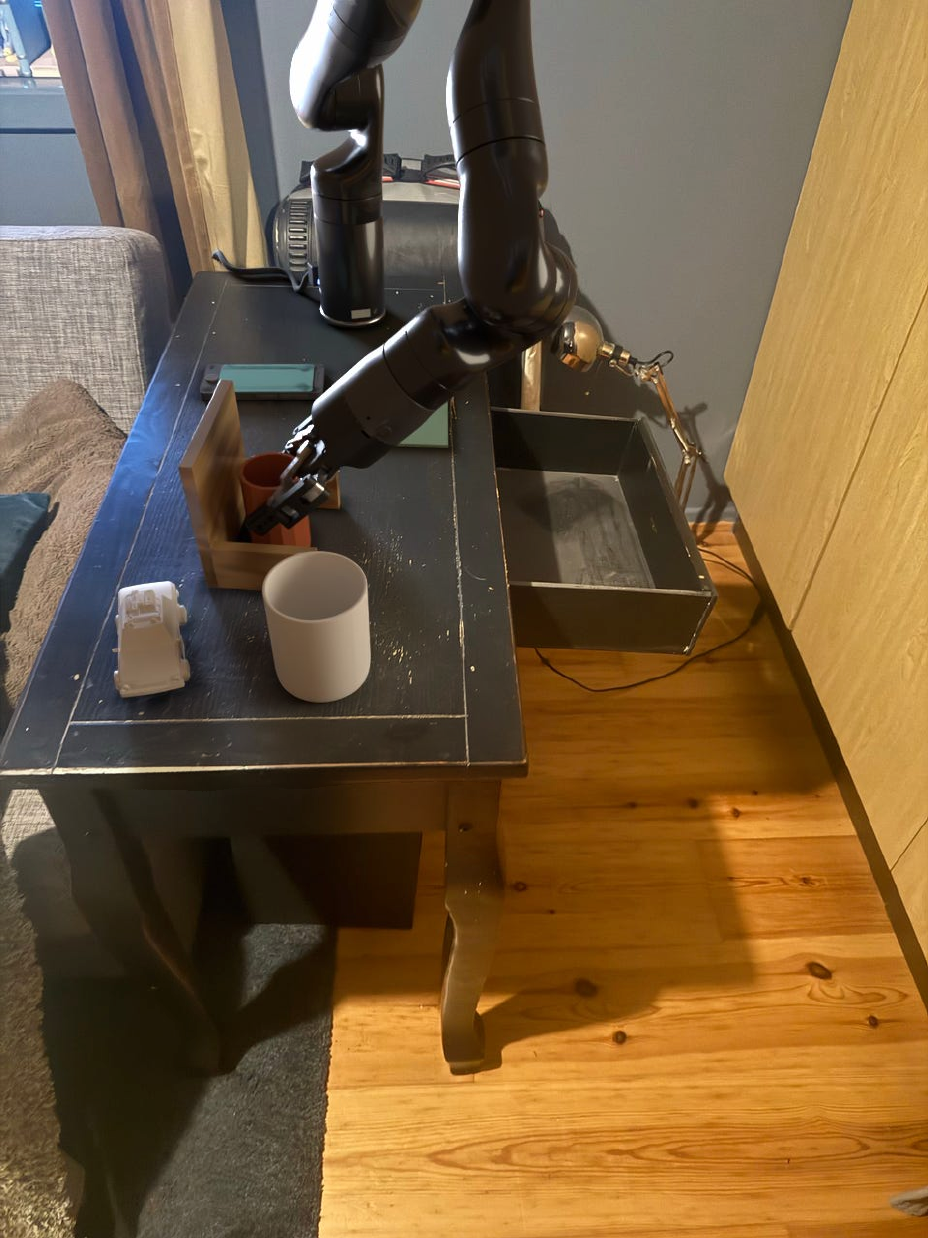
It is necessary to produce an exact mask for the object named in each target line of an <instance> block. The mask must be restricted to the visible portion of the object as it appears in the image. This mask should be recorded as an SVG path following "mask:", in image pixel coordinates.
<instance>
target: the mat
mask: <svg viewBox="0 0 928 1238" xmlns="http://www.w3.org/2000/svg"><path fill="white" fill-rule="evenodd" d="M448 402H449V401H448ZM448 402H446V403H445V404H444V405H442V406H441V407H440V408H439V409H438V410H437V411H435V412H434V413H433V414H432V415H431V416H430V418H429V419H428V420H427V421H426V422H425V423H424V424H423V425H422V426H421V427H419V428H418V429H417V430H416V431H415V432H413V433H412V434H411V435H410V436H408V437H407V438H406V439H404V440H403V441H402V442H401V443H399V444H398V445H397V446H396V447H401V448H402V447H405V448H432V449H433V448H435V449H436V448H437V449H438V448H439V449H448V448H449V420H448V419H449V411H448V408H449V406H448V404H449V403H448Z"/></svg>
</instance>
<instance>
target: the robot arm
mask: <svg viewBox="0 0 928 1238" xmlns="http://www.w3.org/2000/svg"><path fill="white" fill-rule="evenodd" d="M423 1H424V0H316V2H315V6H314V9H313V11H312V12H313V13H312V14H311V15H312V16H311V17H310V20H309V21H308V23H307V25H306V27H305V29H304V31H303V33H302V35H301V36H300V38H299V40H298V43H297V45H296V47H295V50H294V52H293V55H292V59H291V65H290V72H289V93H290V100H291V104H292V107H293V110H294V112H295V115H296V116H297V118H298V120H299V122H300V123H301V124H302V126H304V127H305V128H306V129H308V130H310V131H313V132H316V133H341V132H350V134H349V135H348V137H347V138H346V139H345V140H344V141H343V142H342V143H341V144H340V145H339V146H338V147H336V148H334V149H333V150H331V151H329V152H327V153H325V154H324V155H322V156H320V157H318V158H316V159H315V160H314V161H313V163H312V164H311V168H310V183H311V194H312V195H311V196H312V206H313V208H312V209H313V220H314V233H315V247H316V261H310V262H307V272H305V274H304V275H303V277H302V279H301V281H300V284H299V282H298V279H297V276H296V275H295V274H294V272H293V271H291V270H290V269H287V268H285V267H281V266H280V267H279V266H263V267H240V266H239V267H238V266H235V265H233V264H231V263H230V262H229V260H228V258H227V257H226V255H225V253H224V252H223V251H222V250H221V249H215V250H214V251H213V253H211V256H210V257H211V258H212V259H219V261H220V263H221V264H222V266H223V267H224V268H225V269H226V270H227V271H229V272H231V273H233V274H236V275H241V276H255V275H257V276H258V275H282V276H286V277H287V278H288V279H289V280H290V282H291V285H292V288H293V290H294V292H296V293H298V294H301V293H303V292H305V291H306V289H307V288H308V285H309V284H310V285H311V286H312V287H314V288H315V287H319V299H320V300H319V301H320V307H319V310H320V317H321V319H322V320H323V321H324V322H325V323H326V324H329V325H330V326H334V327H337V328H340V329H341V328H342V329H348V330H349V329H350V330H351V329H354V330H356V329H365V328H371V327H373V326H376V325H378V324H379V323H381V322H383V321H384V320H385V318H386V312H387V310H386V305H385V303H386V302H385V297H386V296H385V294H386V293H385V289H386V288H385V287H386V286H385V285H386V284H385V241H384V240H385V239H384V235H385V234H384V233H385V232H384V195H383V194H384V192H383V190H384V189H383V173H384V172H383V171H384V132H385V131H384V130H385V128H384V127H385V107H386V105H385V101H386V100H385V99H386V98H385V97H386V96H385V95H386V93H385V91H386V90H385V88H386V85H385V84H386V83H385V72H384V66H383V62H385V61H386V60H388V59H389V58H390V57H392V56H393V55H394V54H395V53H396V52H397V51H398V49H399V48H400V47H401V46H402V44H403V43H404V42H405V40H406V38H407V36H408V34H409V33H410V31H411V29H412V27H413V25H414V23H415V22H416V19H417V17H418V15H419V13H420V10H421V7H422V4H423ZM531 11H532V9H531V0H472V2H471V4H470V8H469V10H468V12H467V16H466V17H465V20H464V23H463V26H462V28H461V31H460V32H459V36H458V39H457V42H456V44H455V48H454V50H453V53H452V55H451V60H450V63H449V67H448V68H449V69H448V72H447V78H446V87H445V88H446V89H445V90H446V91H445V105H446V117H447V124H448V130H449V135H450V141H451V142H450V143H451V145H452V146H451V147H452V148H451V149H452V153H453V159H454V164H455V165H454V166H455V169H456V175H457V180H458V184H459V191H460V192H459V202H458V212H457V213H458V214H457V215H458V217H457V267H458V268H457V269H458V275H459V280H460V284H461V288H462V291H463V294H464V296H463V297H462V298H460V299H458V300H455V301H454V302H450V303H444V304H435V305H430V306H429V307H427V308H425V309H423V310H422V311H420V312H419V313H417V314H416V315H415V316H414V317H412V318H411V319H410V320H408V322H406V324H404V325H403V326H402V327H401V328H400V329H399V330H398V331H397V332H395V333H394V334H393V335H392V336H391V337H390V338H389V339H387V340H386V341H385V342H384V343H383V344H382V345H380V346H378V347H377V348H375V349H374V350H372V351H370V352H369V353H368V354H367V355H365V356H364V357H363V358H362V359H361V360H359V361H358V362H357V363H356V364H355V365H353V366H352V368H351V369H349V370H348V371H347V372H346V373H345V374H344V375H343V376H341V377H340V378H339V379H338V380H336V382H334V383H333V384H332V385H331V387H329V388H328V389H327V390H325V392H323V394H322V395H321V396H320V397H319V398H318V399H317V400H315V401H314V402H313V404H312V406H311V411H310V412H311V415H310V416H308V417H307V418H306V419H305V420H304V421H302V423H300V424H299V425H298V426H297V427H295V428H294V429H293V432H292V436H293V438H291V439H290V440H288V441H287V443H286V445H285V446H284V449H283V450H282V451H281V452H282V453H286V454H290V455H292V456H294V457H296V458H295V459H294V460H293V461H292V462H291V464H290V465H289V466H288V467H287V469H286V470H285V471H284V472H283V474H282V475H281V476H280V483H281V484H280V486H279V487H278V488H277V490H276V491H275V492H274V493H273V494H272V496H270V497H269V498H268V500H266V501H265V502H264V503H263V504H262V505H260V506H259V507H258V508H257V509H256V510H254V511H253V512H252V513H251V514H250V515H248V516H247V518H246V517H245V519H244V526H245V527H246V528H247V529H248V528H249V529H250V530H252V531H253V532H254V533H256V534H257V535H259V536H263V535H265V534H266V533H267V532H269V531H270V530H271V529H272V528H274V527H275V526H276V525H277V524H279V523H280V524H282V525H283V526H284V527H285V528H286V529H288V530H289V529H291V528H292V527H293V526H295V525H296V524H297V523H298V522H300V521H301V520H302V519H303V518H305V517H306V516H307V515H308V514H309V515H310V514H311V513H313V512H314V510H316V509H318V508H317V507H319V506H320V505H321V504H322V503H324V502H325V501H326V500H328V499H329V497H330V495H331V491H329V490H328V489H327V488H326V487H325V485H326V484H327V483H328V482H331V481H333V480H334V478H335V477H336V476H337V475H339V473H340V472H341V470H342V468H343V467H347V468H354V469H358V470H364V469H365V470H366V469H369V468H370V467H372V466H373V465H374V464H375V463H377V462H378V461H379V460H380V459H382V458H383V457H384V456H386V455H387V454H388V453H390V452H391V451H392V450H393V449H395V448H396V447H398V446H397V445H398V444H399V443H401V442H402V441H403V440H404V439H406V438H407V437H408V436H410V435H411V434H412V433H413V432H415V431H416V430H417V429H418V428H419V427H421V426H422V425H423V424H424V423H425V422H426V421H427V420H428V419H429V418H430V416H431V415H432V414H433V413H434V412H435V411H437V410H438V409H439V408H440V407H441V406H442V405H444V404H445V403H446V402H449V401H450V400H451V399H453V398H454V397H455V396H457V395H458V394H459V393H461V391H463V390H464V389H466V387H468V386H469V385H470V384H471V383H472V382H473V381H474V380H475V379H477V378H478V377H480V376H482V375H483V374H485V373H487V372H489V371H491V370H493V369H495V368H497V367H498V366H501V365H503V364H504V363H506V362H507V361H509V360H511V359H514V358H515V357H517V356H518V355H520V354H523V353H525V352H526V351H527V350H529V349H531V348H532V347H533V346H536V345H537V344H539V343H540V342H541V341H543V340H544V339H546V338H547V337H548V336H550V335H551V334H553V333H554V332H555V331H556V330H557V329H558V328H559V327H560V326H561V325H562V324H563V323H564V321H565V320H566V319H567V317H568V316H569V315H570V313H571V311H572V310H573V308H574V306H575V303H576V300H577V297H578V291H579V278H578V271H577V269H576V267H575V265H574V264H573V262H572V260H571V259H570V258H569V256H568V255H567V254H566V253H565V252H564V251H562V249H560V248H559V247H556V246H555V245H553V244H551V243H549V242H548V241H546V240H544V238H543V234H542V230H541V223H540V210H539V200H540V199H541V198H542V197H543V195H544V194H545V192H546V191H547V188H548V185H549V181H550V180H549V179H550V169H549V159H548V158H549V157H548V152H547V151H548V150H547V143H546V137H545V133H544V125H543V119H542V113H541V106H540V100H539V93H538V89H537V81H536V74H535V73H536V72H535V64H534V54H533V41H532V14H531V13H532V12H531ZM341 467H342V468H341ZM294 473H295V475H296V476H297V477H298V478H299V479H300V480H299V481H298V483H297V484H295V483H294V482H293V481H292V476H293V475H294ZM287 490H289V491H288V492H286V491H287ZM285 492H286V493H285ZM284 493H285V494H284Z"/></svg>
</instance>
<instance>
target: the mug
mask: <svg viewBox="0 0 928 1238" xmlns="http://www.w3.org/2000/svg"><path fill="white" fill-rule="evenodd" d="M261 596H262V601H263V605H264V611H265V618H266V623H267V629H268V634H269V640H270V645H271V653H272V657H273V664H274V669H275V673H276V676H277V678H278V681H279V682H280V684H281V686H282V687H283V688H284V689H285V690H286V691H287V692H288V693H289V694H291V695H292V696H293V697H295V698H297V699H300V700H302V701H305V702H309V703H322V704H323V703H331V702H336V701H339V700H342V699H345V698H347V697H348V696H350V695H352V694H353V693H355V692H357V690H358V689H359V688H361V686H362V685H363V684H364V682H366V679H367V678H368V676H369V672H370V668H371V659H372V657H371V656H372V655H371V654H372V653H371V634H370V633H371V632H370V615H369V613H370V612H369V591H368V580H367V577H366V574H365V572H364V571H363V569H362V568H361V566H359V565H358V564H357V563H356V562H355V561H354V560H353V559H351V558H349V557H348V556H345V555H342V554H339V553H335V552H331V551H324V550H323V551H322V550H321V551H319V550H317V551H313V552H305V553H296V554H294V555H293V556H291V557H288V558H286V559H284V560H282V561H281V562H279V563H278V564H276V565H275V566H274V567H273V568H272V569H271V570H270V571H269V572H268V574H267V575H266V577H265V579H264V582H263V586H262V591H261Z"/></svg>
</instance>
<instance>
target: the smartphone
mask: <svg viewBox="0 0 928 1238" xmlns="http://www.w3.org/2000/svg"><path fill="white" fill-rule="evenodd" d="M204 369H205V370H204V372H203V376H202V380H201V383H200V388H199V395H200V398H201V400H203V401H210V400H211V398H212V396H213V394H214V392H215V390H216V388H217V386H218V384H219V382H220V380H232V381H233V386H234V392H235V398H236V401H280V400H281V401H283V400H284V401H293V400H294V401H298V400H303V401H306V400H307V401H308V400H309V401H311V400H313V401H314V400H315V401H316V400H317V399H318V398H319V397H320V396H321V395H322V394H324V384H325V366H324V365H323V364H321V363H210V364H207V365H206V366H205V368H204Z"/></svg>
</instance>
